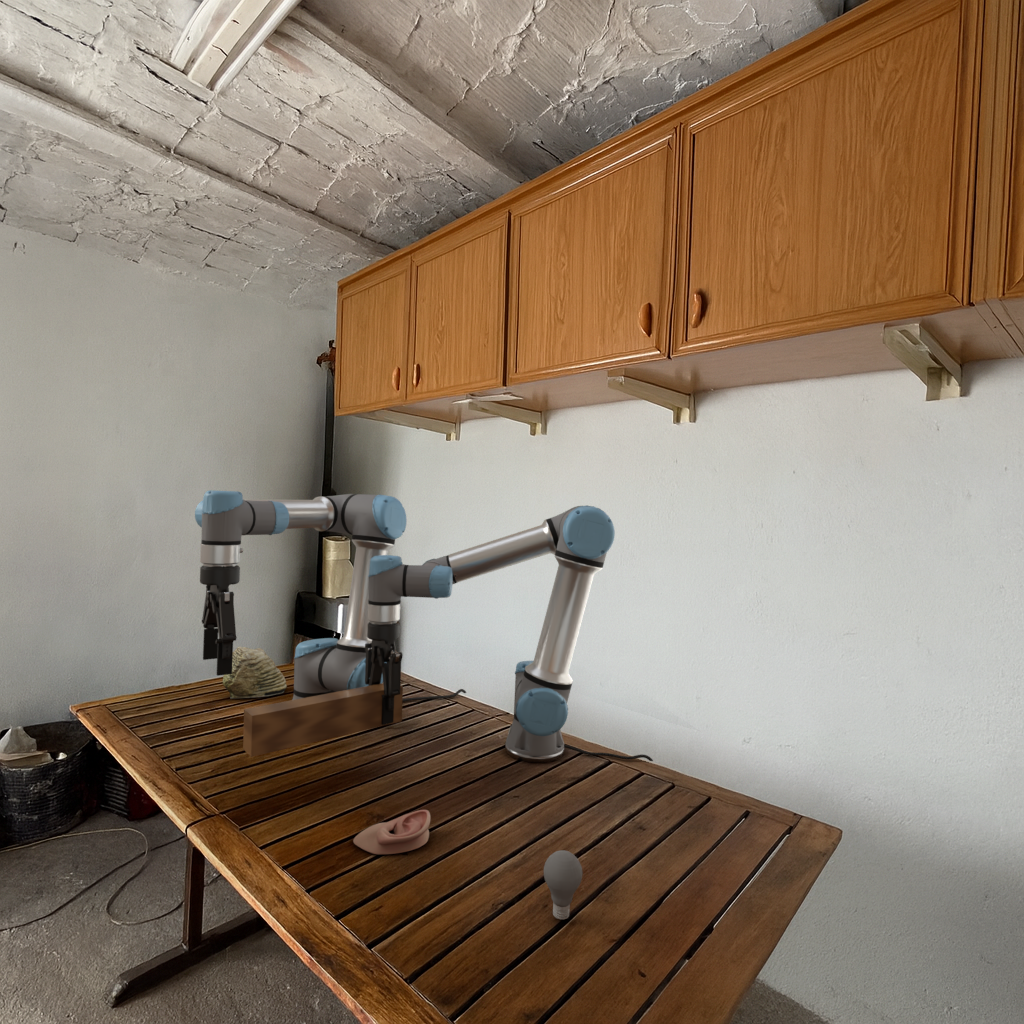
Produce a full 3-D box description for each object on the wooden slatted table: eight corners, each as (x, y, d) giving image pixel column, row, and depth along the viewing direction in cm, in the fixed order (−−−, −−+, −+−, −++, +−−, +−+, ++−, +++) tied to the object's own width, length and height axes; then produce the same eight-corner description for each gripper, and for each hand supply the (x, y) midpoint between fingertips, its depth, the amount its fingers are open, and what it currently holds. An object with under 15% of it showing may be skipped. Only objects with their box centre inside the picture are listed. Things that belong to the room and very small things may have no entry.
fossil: (218, 695, 195) (220, 647, 195) (278, 685, 208) (279, 640, 207) (228, 703, 189) (230, 653, 188) (289, 692, 201) (290, 645, 201)
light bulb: (539, 904, 101) (542, 842, 101) (576, 904, 101) (579, 842, 101) (544, 930, 95) (547, 864, 95) (583, 929, 95) (586, 864, 95)
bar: (251, 757, 127) (252, 715, 127) (243, 749, 131) (243, 709, 131) (401, 721, 150) (402, 686, 150) (391, 715, 154) (392, 681, 154)
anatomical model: (346, 827, 114) (372, 798, 125) (345, 849, 114) (372, 818, 125) (416, 839, 111) (436, 808, 122) (415, 861, 111) (436, 828, 123)
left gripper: (255, 571, 124) (251, 679, 124) (226, 558, 144) (222, 651, 144) (213, 572, 119) (209, 684, 120) (189, 558, 139) (186, 654, 140)
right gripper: (418, 626, 144) (415, 727, 145) (379, 613, 158) (376, 706, 158) (389, 629, 139) (386, 734, 140) (351, 616, 153) (349, 712, 154)
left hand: (216, 666), depth 132 cm, fingers open, 13 cm apart
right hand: (381, 719), depth 149 cm, fingers closed on bar, 5 cm apart
